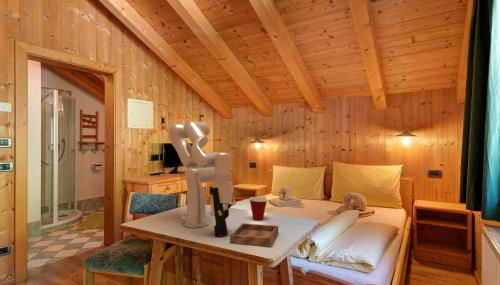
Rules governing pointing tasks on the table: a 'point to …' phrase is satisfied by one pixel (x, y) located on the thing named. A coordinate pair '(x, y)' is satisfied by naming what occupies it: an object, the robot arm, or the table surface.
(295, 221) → the table surface
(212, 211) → the skincare box
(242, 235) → the wooden tray
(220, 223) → the portable radio
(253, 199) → the plastic cup
